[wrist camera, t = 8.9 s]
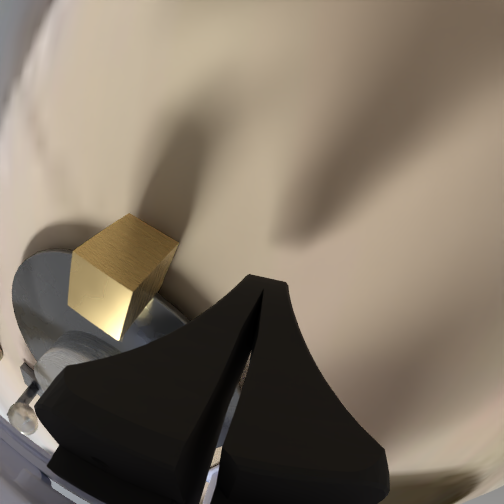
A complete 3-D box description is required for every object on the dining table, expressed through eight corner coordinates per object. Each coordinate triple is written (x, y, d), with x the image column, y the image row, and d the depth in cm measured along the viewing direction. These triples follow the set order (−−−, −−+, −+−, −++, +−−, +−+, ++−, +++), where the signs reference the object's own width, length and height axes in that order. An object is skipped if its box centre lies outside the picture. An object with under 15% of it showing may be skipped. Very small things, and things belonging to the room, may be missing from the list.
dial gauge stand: (59, 392, 23) (26, 437, 17) (61, 405, 24) (32, 447, 18) (24, 362, 22) (-11, 403, 16) (28, 378, 24) (-2, 417, 18)
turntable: (347, 336, 12) (351, 403, 9) (190, 463, 21) (178, 493, 18) (20, 144, 11) (-33, 161, 8) (27, 360, 20) (7, 383, 17)
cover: (175, 382, 15) (145, 442, 11) (149, 427, 18) (128, 470, 15) (58, 307, 14) (14, 350, 11) (61, 372, 18) (34, 407, 14)
